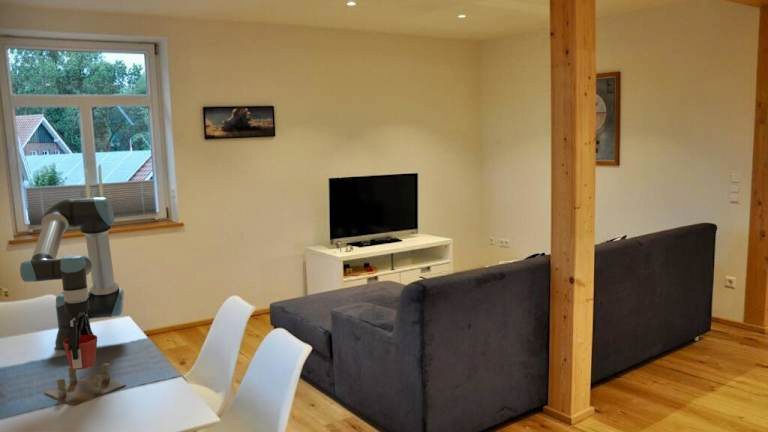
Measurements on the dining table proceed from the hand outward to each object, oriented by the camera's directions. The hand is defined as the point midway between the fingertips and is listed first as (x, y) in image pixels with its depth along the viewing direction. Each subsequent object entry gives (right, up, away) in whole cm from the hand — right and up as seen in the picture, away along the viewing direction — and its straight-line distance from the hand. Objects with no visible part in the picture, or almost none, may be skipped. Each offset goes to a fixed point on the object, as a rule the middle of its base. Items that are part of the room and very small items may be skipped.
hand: (82, 362), depth 215 cm
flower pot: (0, -2, 0) cm, 2 cm away
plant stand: (0, -10, +2) cm, 10 cm away
